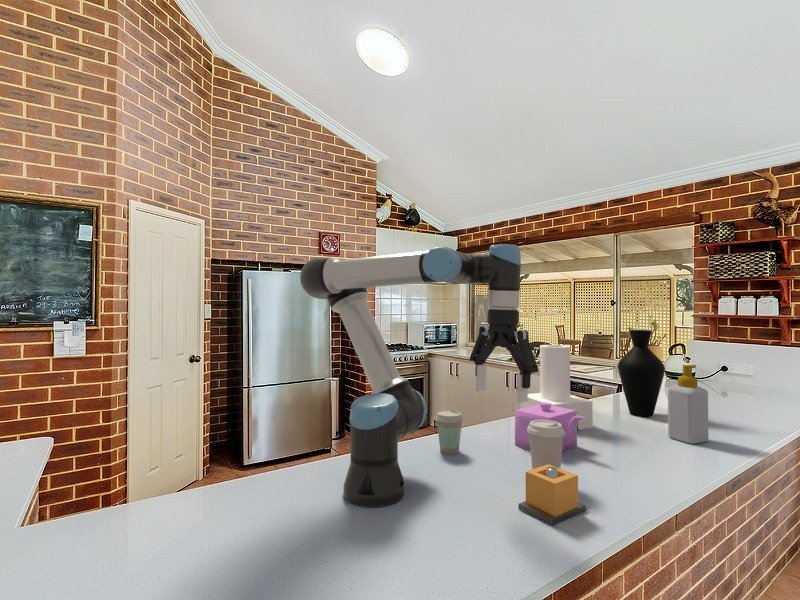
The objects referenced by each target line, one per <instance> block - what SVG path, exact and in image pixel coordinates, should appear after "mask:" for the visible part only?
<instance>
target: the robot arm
mask: <svg viewBox="0 0 800 600" xmlns="http://www.w3.org/2000/svg"><path fill="white" fill-rule="evenodd" d="M488 250H489V251H488V252H487V253H464V252H461V251H458V250H455V249H452V248H449V247H447V246H446V247H445V246H437V247H433V248H431V249H429V250H423V251H422V250H420V251H413V252H412V251H411V252H403V253H396V254H395V253H394V254H384V255H377V256H367V257H359V258H357V257H356V258H349V259H339V257H335V256H330V257H323V256H322V257H321V256H320V257H315V258H311V259H310V260H308V261H307V262H305V264H304V265H303V267H302V268H301V270H300V276H299V278H300V279H299V280H300V281H299V282H300V285H301V287H302V289H303V290H304V291H305V293H306V294H308V295H309V296H310V297H312V298H316V299H319V300H327V302H328V305H329V306H330V308H331V311H332V312H334V313H337V314H339V315H340V319H341V321H342V323H343V326H344V328H345V330H346V331H347V335H348V337H349V339H350V341H351V343H352V346H353V349H354V351H355V352H356V355H357V357H358V358H357V359H358V360H359V361H360V362H359V363H360V364H361V367H362V368H363V371H364V373H365V375H366V378H367V380H368V383H369V385H370V388H371V393H370V394H365V395H363V396H360V397H358V398H356V399H354V401H352V404H351V406H350V414H349V422H350V426H349V428H350V431H349V432H350V438H349V439H350V443H349V444H350V446H349V447H350V463H349V467H348V470H347V473H346V477H345V480H344V483H343V498H344V499H345V500H346V501H347V502H348V503H350V504H352V505H356V506H360V507H365V508H367V507H369V508H370V507H371V508H376V507H377V508H378V507H379V508H380V507H384V506H389V505H392V504H395V503H397V502H399V501H401V500H402V499H403V498H404V496H405V495H406V484H405V483H406V482H405V479H404V476H403V474H402V469H401V468H400V465H399V461H398V460H399V459H398V458H399V457H398V456H399V455H398V454H399V451H398V449H399V448H398V446H399V445H398V444H399V443H398V442H399V441H400V440H402V439H403V438H405V437H407V436H409V435H411V434H412V433H415V432H416V431H417V430H418V429H419V428H420V427H421V426H422V425H423V424H424V422H425V420H426V416H427V413H428V412H427V411H428V409H427V407H428V406H427V402H426V400H425V398H424V397H423V395H422V394H421V392H420V391H417V390H415V389H414V388H412V386H411V384H410V381H409V379H408V378H406V377H402V376H401V375H400V372H399V370H398V369H397V366H396V364H395V361H394V360H393V357H392V356H391V353H390V351H389V349H388V346H387V345H386V342H385V340H384V338H383V336H382V334H381V331H380V330H379V327H378V324H377V322H376V321H375V319H374V315H373V313H372V312H371V310H370V307H369V304H368V303H367V300H368V297H369V293H368V288H378V287H388V286H389V287H390V286H391V287H393V286H403V285H417V284H433V283H434V284H435V283H446V284H452V285H461V284H462V285H463V284H464V285H471V284H472V285H474V284H475V285H476V284H477V285H479V284H483V285H486V284H487V285H488V288H487V291H488V292H487V307H488V308H489V309H488V310H487V313H486V314H487V316H486V319H487V320H486V323H487V324H488V325H489V326H480V327H479V328H478V336H477V339H476V341H475V344H474V347H473V348H472V350H471V354H470V356H469V361H472V362H474V364H475V377H476V384H475V385H476V386H475V387H476V389H475V391H478V392H481V391H486V390H487V373H488V371H487V368H488V366H487V365H488V364H487V363H486V361H487V360H488V358H489V356H491V354H492V352H493V351H494V349H496V348H497V347H501V348H505V349H506V351H508V352H509V354H510V355H511V358H512V359H513V361H514V363H515V364H516V366H517V368H518V370H519V373H517V388H516V389H517V390H516V391H517V392H516V393H517V394H516V402H517V403H519V404H520V403H521V402H528V394H529V389H530V387H531V377H532V376H531V375H532V374H535V373H538V372H539V371H540V368H539V367H538V364H537V360H536V358H535V357H536V356H535V355H534V352H533V349H532V346H531V344H530V341H529V332H528V330H517V329H518V328H517V327H518V325H519V323H520V311H519V309H518V308H520V296H521V295H520V292H521V291H520V290H521V289H520V288H521V270H522V269H521V268H522V263H521V261H522V260H521V247H519V246H518V245H516V244H510V243H509V244H508V243H504V244H503V243H501V244H500V243H499V244H491V245H490V246H489V249H488Z"/></svg>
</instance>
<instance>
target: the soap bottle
mask: <svg viewBox="0 0 800 600" xmlns="http://www.w3.org/2000/svg"><path fill="white" fill-rule="evenodd" d="M695 368H697V365H696V364H683V365H682V375H680V376H678V377H677V384H676V385H673V386H670V387H669V388H668V389H667V435H668V438H670V439H673V440H676V441H680V442H683V443H686V444H689V445H690V444H691V445H695V444H700V443H701V444H702V443H707V442H708V441H709V392H708V390H707V389H705V388H703V387H700V386H698V379H697V377H695V376H693V369H695Z"/></svg>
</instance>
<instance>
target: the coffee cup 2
mask: <svg viewBox="0 0 800 600" xmlns="http://www.w3.org/2000/svg"><path fill="white" fill-rule="evenodd" d="M527 432H528V433H529V440H530V450H529V451H530V460H531V470H532V469H535V468H538V467H541V466H544V465H547V464H549V465H552V466H554V467H557V468H560V469H561V464H562V454H563V453H562V443H563V436H564V435H565V431H564V429H563V428H562V425H561V424H560V423H558V422H555V421H550V420H534V421H531V422H530V425H529V426H528V428H527Z"/></svg>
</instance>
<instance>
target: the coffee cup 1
mask: <svg viewBox="0 0 800 600" xmlns="http://www.w3.org/2000/svg"><path fill="white" fill-rule="evenodd" d="M435 420H436V425H437V434H438V435H437V436H438V442H439V449H440V453H442V454H445V455H456V454H458V453H459V451H460V446H461V445H460V443H461V432H462V424H463V421H464V417H463V416H462V412H460V411H458V410H452V409H451V410H441V411H438V412H437V414H436V416H435Z"/></svg>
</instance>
